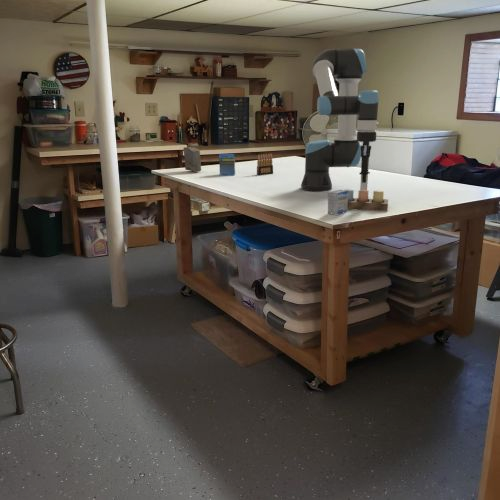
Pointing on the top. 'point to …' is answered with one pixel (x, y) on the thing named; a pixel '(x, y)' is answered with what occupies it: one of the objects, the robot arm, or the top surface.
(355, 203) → the button board
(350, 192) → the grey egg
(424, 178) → the top surface
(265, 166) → the ammunition clip
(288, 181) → the top surface
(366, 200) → the button terracotta
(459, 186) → the top surface
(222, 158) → the label tape box
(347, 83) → the robot arm
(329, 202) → the medicine box
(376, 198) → the button ochre
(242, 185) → the top surface
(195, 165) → the geological specimen
